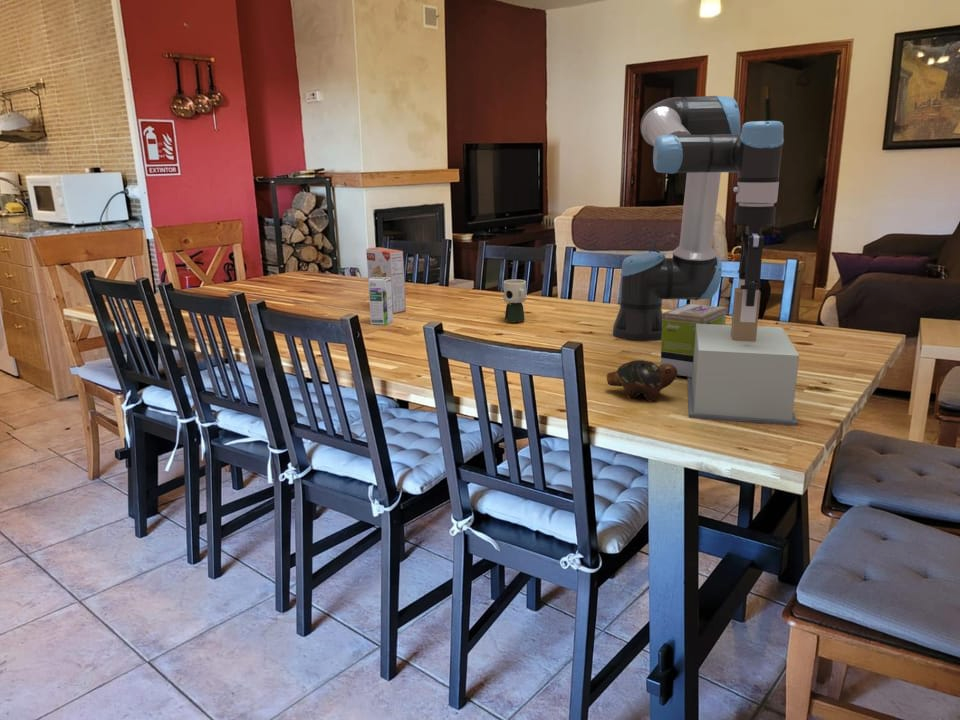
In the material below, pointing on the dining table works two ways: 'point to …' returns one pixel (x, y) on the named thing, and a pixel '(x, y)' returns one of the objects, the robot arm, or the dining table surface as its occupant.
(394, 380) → the dining table surface
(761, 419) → the mat
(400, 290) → the cracker box
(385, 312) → the syrup box
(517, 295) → the character mug
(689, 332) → the tea box
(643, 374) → the decorative turtle
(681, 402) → the dining table surface
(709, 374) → the cover
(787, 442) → the dining table surface
